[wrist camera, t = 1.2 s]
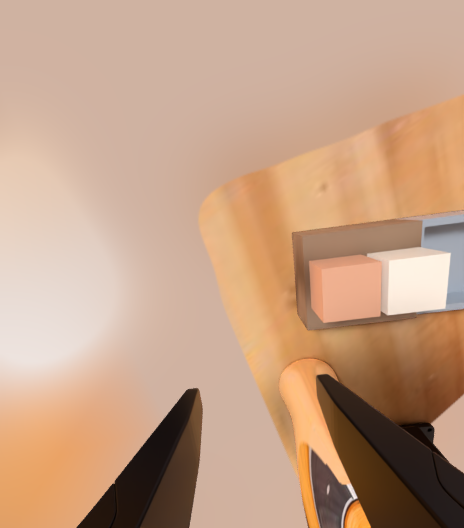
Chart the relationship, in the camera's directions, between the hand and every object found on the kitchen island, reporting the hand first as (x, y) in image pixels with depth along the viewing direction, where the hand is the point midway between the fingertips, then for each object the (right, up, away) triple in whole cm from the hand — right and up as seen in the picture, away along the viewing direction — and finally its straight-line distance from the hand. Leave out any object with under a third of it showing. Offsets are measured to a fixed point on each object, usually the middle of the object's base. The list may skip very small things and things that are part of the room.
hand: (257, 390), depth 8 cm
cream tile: (+12, +4, +9) cm, 16 cm away
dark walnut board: (+9, +4, +12) cm, 16 cm away
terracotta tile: (+7, +3, +9) cm, 12 cm away
